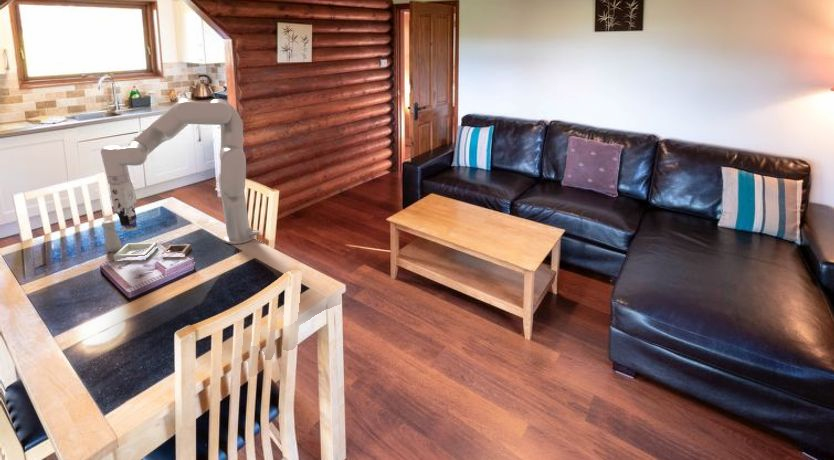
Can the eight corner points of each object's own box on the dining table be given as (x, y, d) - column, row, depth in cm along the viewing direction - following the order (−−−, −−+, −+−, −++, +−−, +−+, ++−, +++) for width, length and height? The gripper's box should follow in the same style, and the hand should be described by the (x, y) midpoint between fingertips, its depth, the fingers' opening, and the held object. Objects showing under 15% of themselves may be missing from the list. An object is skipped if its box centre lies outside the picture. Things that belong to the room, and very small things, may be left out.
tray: (158, 247, 206) (156, 242, 205) (146, 260, 195) (144, 254, 194) (128, 249, 205) (127, 243, 204) (114, 261, 194) (113, 255, 193)
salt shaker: (117, 246, 208) (110, 218, 203) (125, 249, 205) (118, 220, 200) (104, 251, 203) (96, 222, 198) (112, 254, 200) (104, 225, 195)
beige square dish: (191, 248, 206) (190, 244, 205) (184, 257, 198) (183, 252, 197) (170, 249, 205) (169, 244, 205) (162, 257, 197) (161, 253, 197)
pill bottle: (127, 231, 193) (123, 210, 189) (119, 228, 195) (115, 208, 191) (140, 227, 197) (136, 207, 194) (132, 224, 199) (128, 204, 196)
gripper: (118, 184, 180) (129, 229, 187) (138, 172, 196) (147, 214, 203) (97, 185, 180) (108, 230, 187) (119, 172, 196) (128, 214, 202)
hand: (128, 221), depth 195 cm, fingers closed on pill bottle, 5 cm apart
